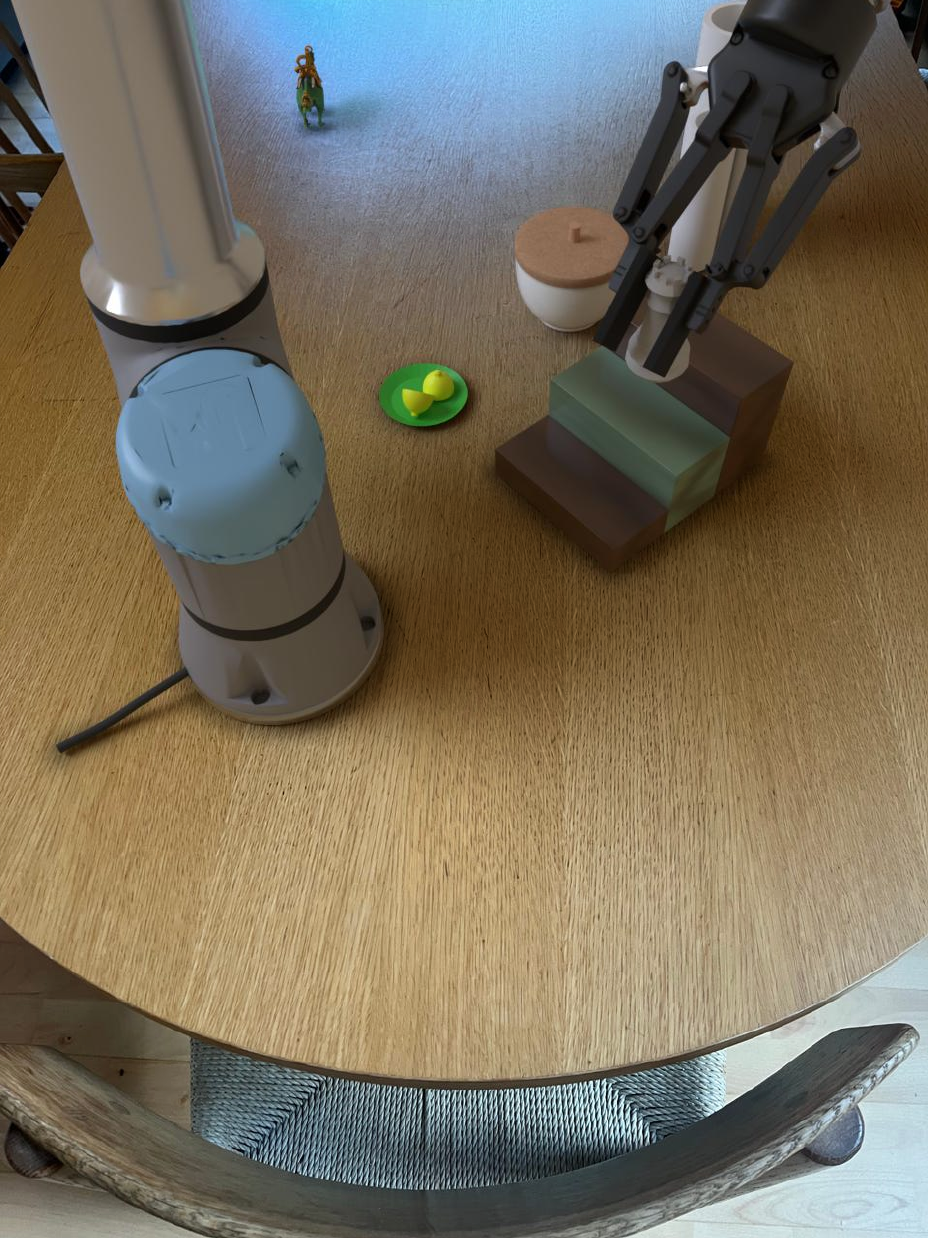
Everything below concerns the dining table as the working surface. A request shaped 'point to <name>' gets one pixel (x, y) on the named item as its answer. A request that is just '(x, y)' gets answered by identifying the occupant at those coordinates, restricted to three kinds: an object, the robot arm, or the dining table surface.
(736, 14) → the vase
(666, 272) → the rook chess piece
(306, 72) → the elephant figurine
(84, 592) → the dining table surface
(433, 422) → the green plate with lemons
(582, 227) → the trinket box
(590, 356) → the step shelf
